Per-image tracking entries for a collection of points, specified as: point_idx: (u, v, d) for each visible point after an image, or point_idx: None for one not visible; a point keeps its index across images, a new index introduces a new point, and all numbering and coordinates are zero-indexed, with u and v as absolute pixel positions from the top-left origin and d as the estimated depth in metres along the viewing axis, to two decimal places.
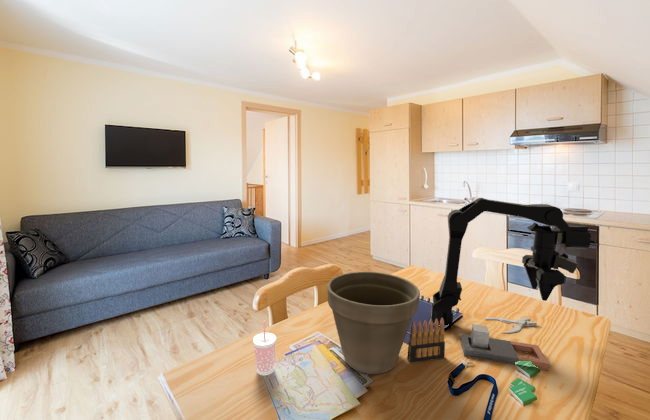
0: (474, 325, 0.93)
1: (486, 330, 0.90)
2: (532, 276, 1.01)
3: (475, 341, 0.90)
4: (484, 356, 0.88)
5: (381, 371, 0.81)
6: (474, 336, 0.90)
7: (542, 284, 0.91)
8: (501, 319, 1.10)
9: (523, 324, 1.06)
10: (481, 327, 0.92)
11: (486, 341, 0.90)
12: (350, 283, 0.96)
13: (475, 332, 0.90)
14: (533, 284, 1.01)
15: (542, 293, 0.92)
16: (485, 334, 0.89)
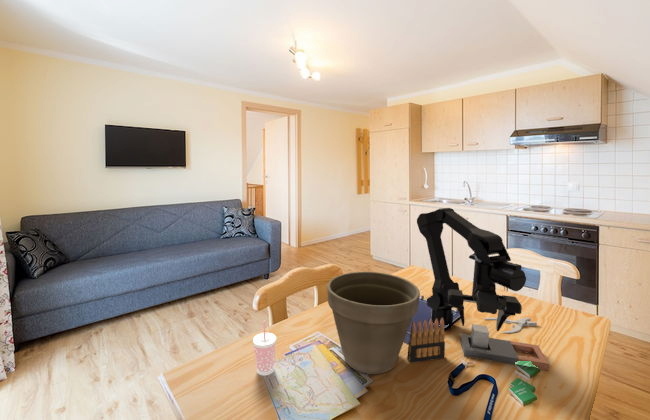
0: (474, 325, 0.93)
1: (486, 330, 0.90)
2: (499, 317, 0.90)
3: (475, 341, 0.90)
4: (484, 356, 0.88)
5: (381, 371, 0.81)
6: (474, 336, 0.90)
7: None
8: None
9: (523, 324, 1.06)
10: (480, 327, 0.92)
11: (486, 341, 0.90)
12: (350, 283, 0.96)
13: (475, 332, 0.90)
14: (496, 325, 0.90)
15: None
16: (485, 334, 0.89)
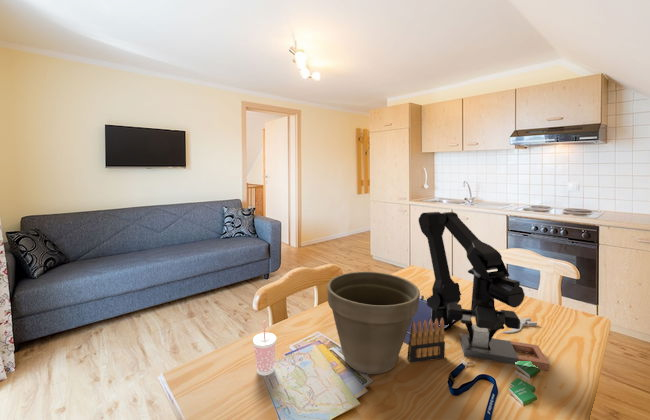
0: (474, 325, 0.93)
1: (486, 330, 0.90)
2: (488, 330, 0.92)
3: (475, 341, 0.90)
4: (484, 356, 0.88)
5: (381, 371, 0.81)
6: (474, 336, 0.90)
7: None
8: None
9: (523, 324, 1.06)
10: None
11: (486, 341, 0.90)
12: (350, 283, 0.96)
13: (475, 332, 0.90)
14: None
15: None
16: (485, 334, 0.89)
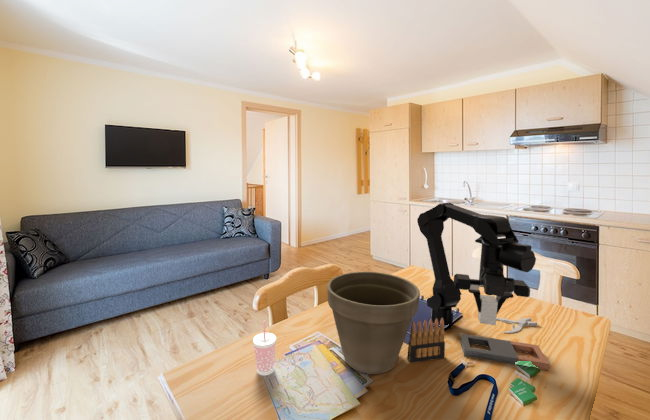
0: (482, 295, 0.91)
1: (494, 300, 0.88)
2: (497, 300, 0.90)
3: (484, 310, 0.88)
4: (484, 356, 0.88)
5: (381, 371, 0.81)
6: (482, 306, 0.88)
7: None
8: (502, 319, 1.10)
9: (524, 324, 1.06)
10: (489, 297, 0.90)
11: (494, 311, 0.88)
12: (350, 283, 0.96)
13: (483, 302, 0.88)
14: None
15: None
16: (494, 303, 0.87)
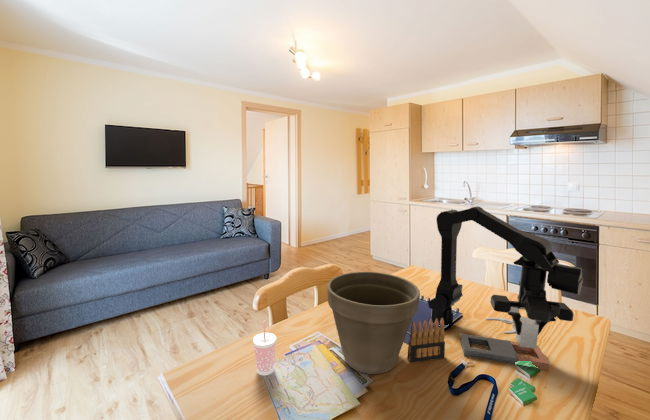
0: (521, 317, 0.89)
1: (535, 322, 0.86)
2: None
3: (524, 333, 0.86)
4: (484, 356, 0.88)
5: (381, 371, 0.81)
6: (522, 329, 0.86)
7: None
8: (502, 319, 1.10)
9: None
10: (528, 319, 0.88)
11: (535, 334, 0.85)
12: (350, 283, 0.96)
13: (523, 324, 0.86)
14: None
15: (514, 323, 0.90)
16: (535, 326, 0.85)
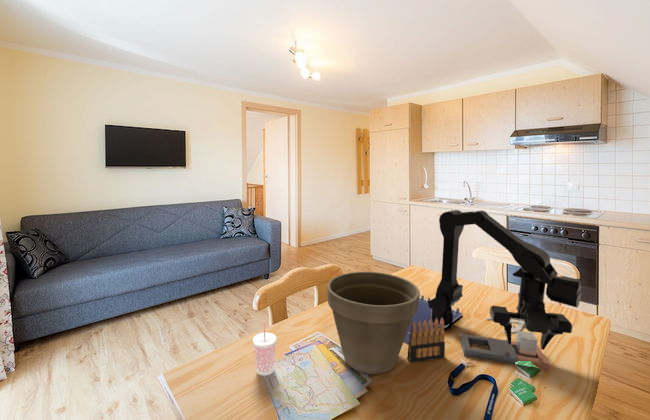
0: (519, 332, 0.90)
1: (533, 337, 0.87)
2: (543, 335, 0.87)
3: (522, 348, 0.87)
4: (484, 356, 0.88)
5: (381, 371, 0.81)
6: (521, 343, 0.87)
7: None
8: None
9: (524, 324, 1.06)
10: (527, 334, 0.89)
11: (534, 349, 0.86)
12: (350, 283, 0.96)
13: (522, 339, 0.87)
14: (541, 343, 0.88)
15: None
16: (533, 341, 0.86)
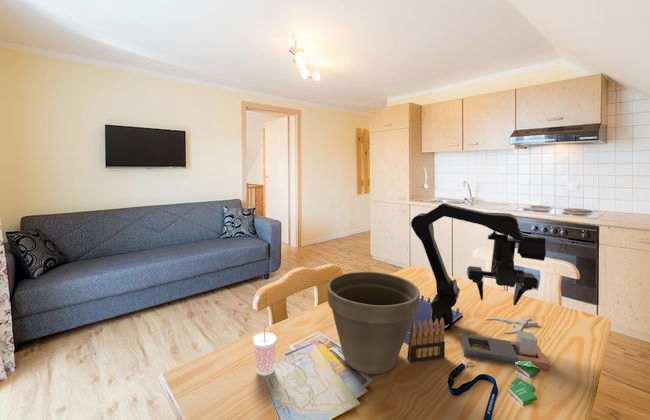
0: (519, 332, 0.90)
1: (533, 337, 0.87)
2: (516, 292, 0.96)
3: (522, 348, 0.87)
4: (484, 356, 0.88)
5: (381, 371, 0.81)
6: (521, 343, 0.87)
7: None
8: (502, 319, 1.10)
9: (524, 324, 1.06)
10: (527, 334, 0.89)
11: (534, 349, 0.86)
12: (350, 283, 0.96)
13: (522, 339, 0.87)
14: (513, 299, 0.97)
15: None
16: (533, 341, 0.86)
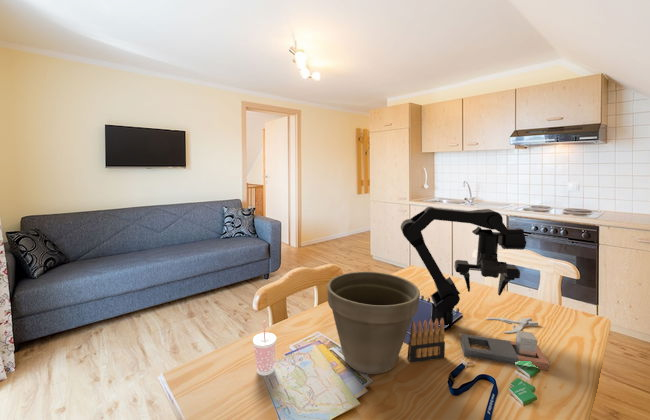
0: (519, 332, 0.90)
1: (533, 337, 0.87)
2: (500, 283, 1.03)
3: (522, 348, 0.87)
4: (484, 356, 0.88)
5: (381, 371, 0.81)
6: (521, 343, 0.87)
7: None
8: (502, 319, 1.10)
9: (524, 324, 1.06)
10: (527, 334, 0.89)
11: (534, 349, 0.86)
12: (350, 283, 0.96)
13: (522, 339, 0.87)
14: (498, 290, 1.03)
15: None
16: (533, 341, 0.86)
